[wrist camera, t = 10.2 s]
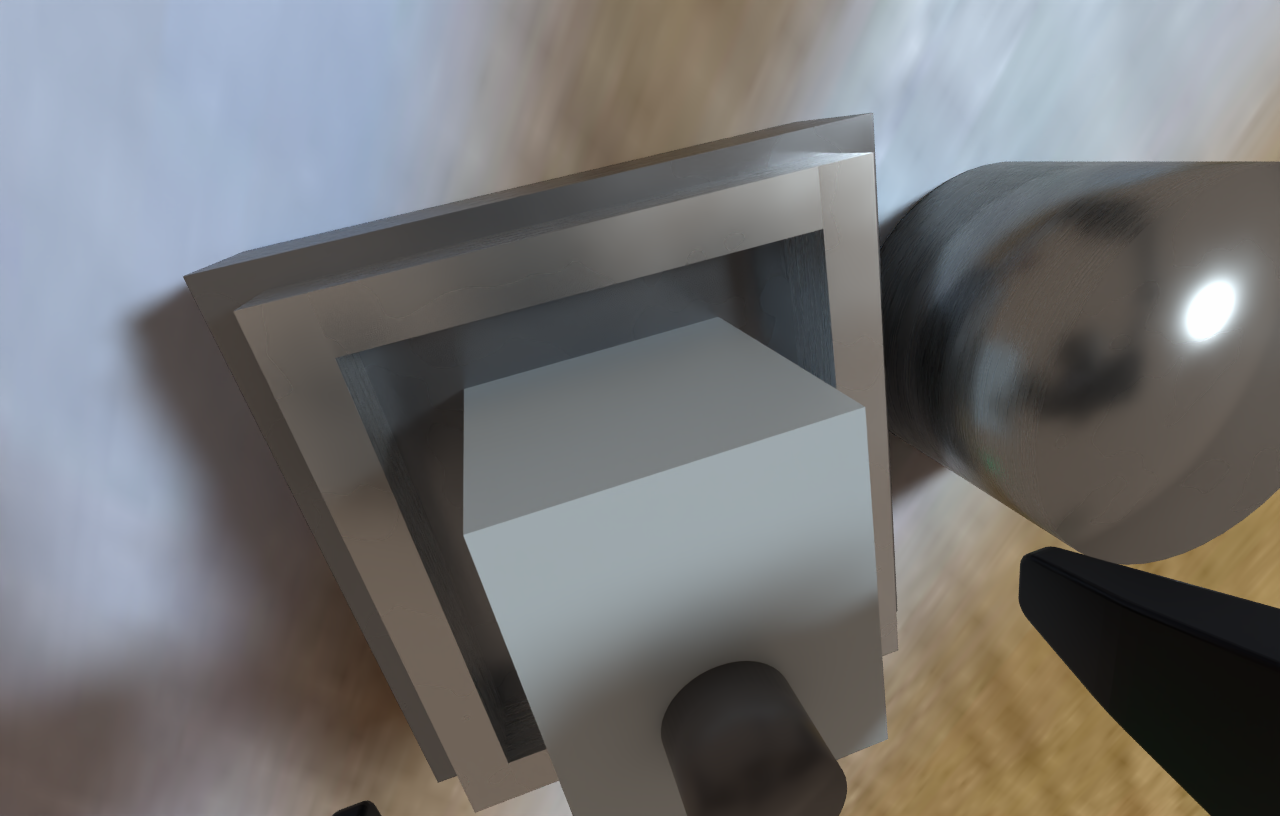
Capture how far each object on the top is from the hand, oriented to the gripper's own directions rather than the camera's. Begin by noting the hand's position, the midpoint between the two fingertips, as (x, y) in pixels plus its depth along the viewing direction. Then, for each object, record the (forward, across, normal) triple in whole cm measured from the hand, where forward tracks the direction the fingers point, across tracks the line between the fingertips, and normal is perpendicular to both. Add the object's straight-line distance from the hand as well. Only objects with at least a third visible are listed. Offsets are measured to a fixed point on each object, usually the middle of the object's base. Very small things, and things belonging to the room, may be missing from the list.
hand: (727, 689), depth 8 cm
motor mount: (+8, -5, 0) cm, 10 cm away
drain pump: (+6, 0, 0) cm, 6 cm away
